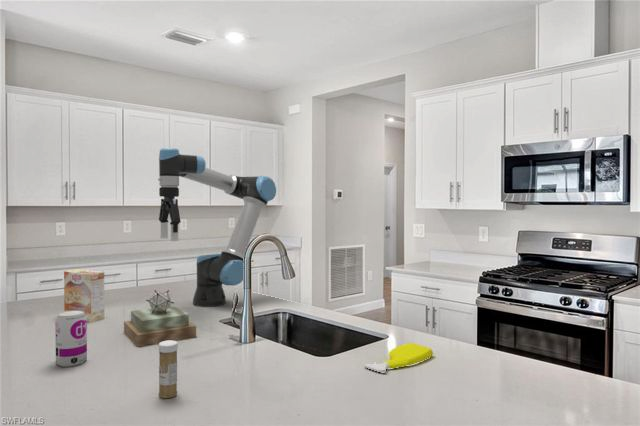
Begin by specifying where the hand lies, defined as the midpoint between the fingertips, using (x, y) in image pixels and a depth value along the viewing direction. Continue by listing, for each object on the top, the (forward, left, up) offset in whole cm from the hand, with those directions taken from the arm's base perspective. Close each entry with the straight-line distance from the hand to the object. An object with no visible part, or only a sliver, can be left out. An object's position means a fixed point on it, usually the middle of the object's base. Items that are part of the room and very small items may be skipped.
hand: (169, 239), depth 186 cm
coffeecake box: (+28, -21, -33) cm, 48 cm away
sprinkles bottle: (+22, +71, -33) cm, 81 cm away
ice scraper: (-44, +86, -33) cm, 102 cm away
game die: (+9, +18, -25) cm, 32 cm away
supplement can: (+39, +32, -33) cm, 60 cm away
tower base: (+9, +18, -33) cm, 38 cm away
